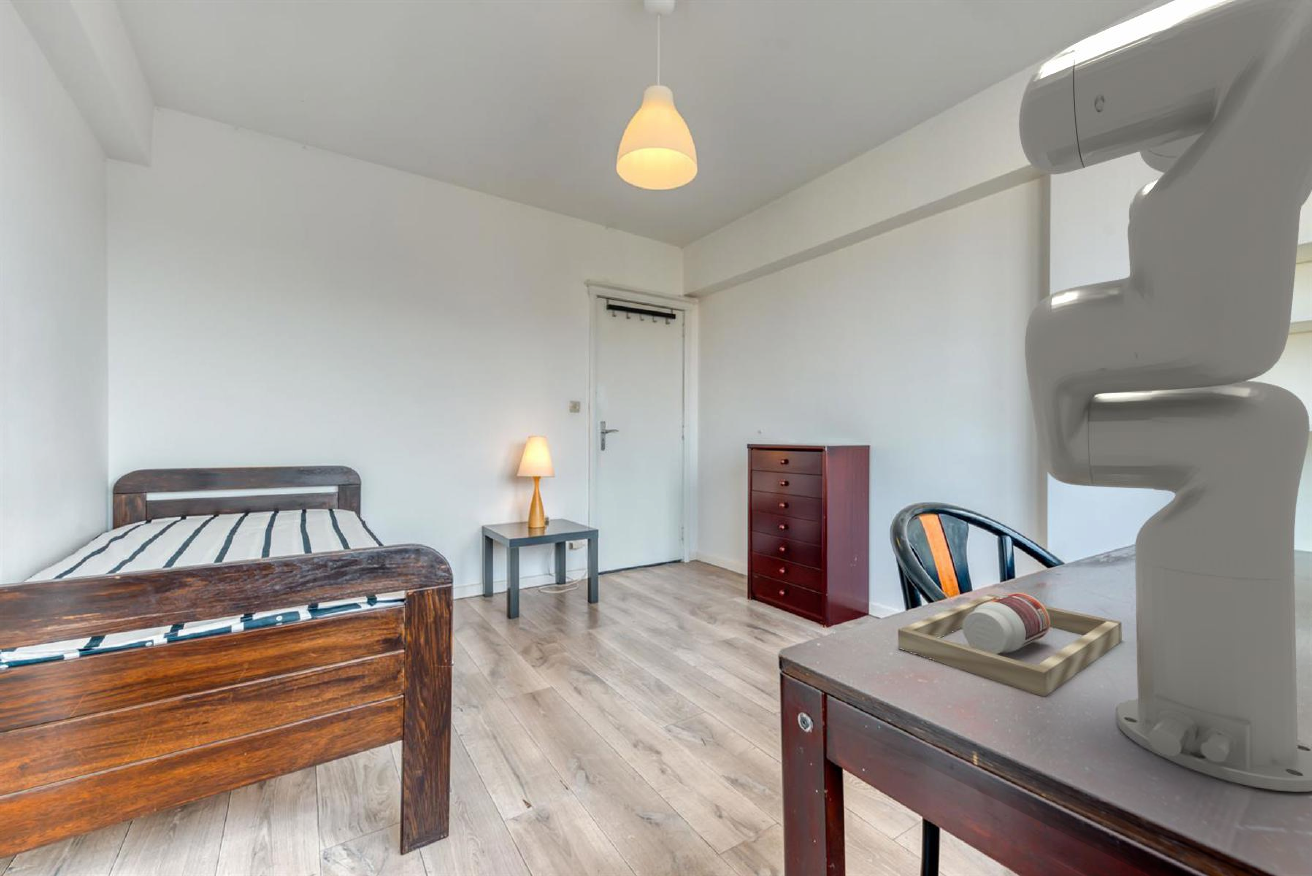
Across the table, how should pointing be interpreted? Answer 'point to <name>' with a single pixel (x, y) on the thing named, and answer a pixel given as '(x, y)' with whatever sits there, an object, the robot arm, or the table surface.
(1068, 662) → the tray frame
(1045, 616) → the pill bottle
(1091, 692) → the table surface
